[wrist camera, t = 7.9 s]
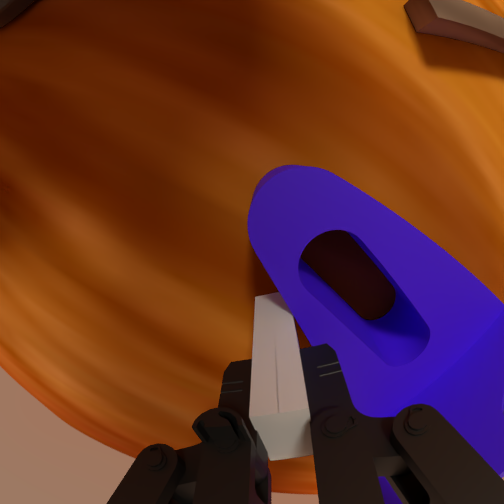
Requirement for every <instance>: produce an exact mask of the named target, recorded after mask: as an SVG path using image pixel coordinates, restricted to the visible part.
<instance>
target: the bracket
mask: <svg viewBox="0 0 504 504" xmlns="http://www.w3.org/2000/svg"><path fill="white" fill-rule="evenodd" d="M331 230H344V231H347V232H348V234H349V235H350V236H351V237H352V238H353V239H354V240H355V241H356V243H357V244H358V245H359V246H360V247H361V248H362V249H363V251H364V252H365V253H366V254H367V255H368V256H369V258H370V259H371V260H372V261H373V262H374V263H375V265H376V266H377V267H378V268H379V269H380V271H381V272H382V273H383V274H384V276H385V277H386V278H387V279H388V281H389V282H390V283H391V284H392V285H393V287H394V289H395V292H396V299H395V302H394V305H393V307H392V308H391V310H390V311H389V312H388V313H387V314H386V315H384V316H383V317H381V318H379V319H376V320H366V319H363V318H362V317H360V316H359V315H358V314H357V313H356V312H355V311H354V310H353V309H352V308H351V307H350V306H349V305H348V304H347V303H346V302H345V301H344V300H343V299H342V298H341V297H340V296H339V295H338V294H337V293H336V292H335V291H334V290H333V289H332V288H331V287H330V286H329V285H328V284H327V283H326V282H325V281H324V280H323V279H322V278H321V277H320V276H319V275H318V274H317V273H316V272H315V271H314V270H313V269H312V268H311V267H310V266H309V265H308V264H306V263H305V262H304V261H303V260H302V259H301V258H300V256H301V254H302V251H303V250H304V248H305V247H306V245H307V244H308V243H309V242H310V241H311V240H312V239H313V238H315V237H316V236H318V235H319V234H321V233H324V232H327V231H331ZM248 234H249V239H250V242H251V245H252V247H253V249H254V251H255V253H256V254H257V256H258V258H259V259H260V261H261V263H262V264H263V266H264V268H265V269H266V271H267V272H268V274H269V276H270V277H271V279H272V281H273V282H274V284H275V286H276V287H277V289H278V291H279V292H280V294H281V296H282V297H283V299H284V301H285V302H286V304H287V306H288V307H289V309H290V311H291V312H292V314H293V316H294V317H295V319H296V321H297V322H298V324H299V326H300V327H301V329H302V331H303V332H304V334H305V336H306V337H307V339H308V340H309V342H310V344H311V345H312V346H317V345H321V344H325V343H327V344H328V345H329V346H330V347H332V348H333V349H334V350H335V351H336V354H337V357H338V360H339V363H340V366H341V369H342V372H343V375H344V378H345V381H346V384H347V387H348V390H349V394H350V397H351V400H352V403H353V405H354V407H355V408H356V409H357V410H358V411H359V412H360V413H362V414H364V415H366V416H370V417H396V415H397V414H398V413H399V412H400V411H401V410H402V409H404V408H406V407H408V406H410V405H413V404H426V405H430V406H432V407H433V408H435V409H436V410H437V411H438V412H439V413H440V414H441V415H442V416H443V417H444V418H445V419H446V420H447V421H448V422H449V423H450V424H451V425H452V426H453V427H454V428H455V429H456V430H457V431H458V432H459V433H460V434H461V435H462V436H463V438H464V439H465V440H466V441H467V442H468V443H469V444H470V445H471V446H472V447H473V448H474V449H475V450H476V451H477V452H478V453H479V454H480V455H481V457H482V458H483V459H484V460H485V461H486V462H487V463H488V464H489V465H490V466H491V467H492V468H493V469H494V471H495V472H496V473H497V474H498V475H499V476H500V477H501V478H502V477H504V304H503V303H502V302H501V301H500V300H499V299H498V298H497V297H496V296H495V295H494V294H493V293H492V292H491V291H490V290H489V289H488V288H487V287H486V286H485V285H484V284H482V283H481V282H480V281H479V280H478V279H477V278H476V277H475V276H474V275H473V274H472V273H470V272H469V271H468V270H467V269H466V268H465V267H464V266H463V265H461V264H460V263H459V262H458V261H457V260H456V259H454V258H453V257H452V256H451V255H450V254H448V253H447V252H446V251H445V250H443V249H442V248H441V247H440V246H438V245H437V244H436V243H435V242H433V241H432V240H431V239H430V238H428V237H427V236H426V235H424V234H423V233H422V232H420V231H419V230H418V229H416V228H415V227H414V226H412V225H411V224H410V223H408V222H407V221H405V220H404V219H403V218H401V217H400V216H398V215H397V214H396V213H394V212H393V211H391V210H390V209H388V208H387V207H385V206H384V205H383V204H381V203H380V202H378V201H377V200H375V199H373V198H372V197H370V196H369V195H367V194H366V193H364V192H363V191H361V190H359V189H358V188H356V187H355V186H353V185H351V184H350V183H348V182H347V181H345V180H343V179H342V178H340V177H338V176H337V175H335V174H333V173H331V172H329V171H327V170H324V169H321V168H316V167H309V166H299V165H285V166H281V167H278V168H275V169H273V170H272V171H270V172H268V173H267V174H266V175H265V176H264V177H263V178H262V179H261V180H260V182H259V183H258V185H257V186H256V189H255V191H254V194H253V198H252V202H251V206H250V210H249V215H248ZM378 479H379V483H380V487H381V491H382V494H383V499H384V503H385V504H403V503H402V502H401V500H400V499H399V497H398V496H397V494H396V493H395V491H394V490H393V488H392V487H391V485H390V484H389V482H388V481H387V479H386V478H385V476H381V477H378Z"/></svg>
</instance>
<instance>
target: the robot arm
mask: <svg viewBox="0 0 504 504" xmlns="http://www.w3.org/2000/svg"><path fill="white" fill-rule="evenodd" d="M33 1H34V0H0V28H1V27H2V26H4V25H6V24H7V23H8V22H10V21H11V20H12V19H14V18H15V17H16V16H17V15H19V14H20V13H21V12H22V11H23V10H24V9H26V8H27V7H28V6H29V5H30V4H31V3H32V2H33ZM222 384H223V385H222V387H221V394H220V399H219V405H218V408H214V409H210V410H208V411H206V412H204V413H202V414H201V415H200V416H199V417H198V418H197V419H196V420H195V421H194V423H193V426H192V429H193V430H194V431H195V433H196V434H197V435H198V437H199V438H200V439H201V441H202V442H201V443H200V444H197V445H194V446H191V447H187V448H183V449H179V450H174V449H173V448H172V447H170V446H168V445H166V444H154V445H150V446H148V447H147V448H145V449H143V450H142V452H141V453H140V454H139V455H138V456H137V458H136V459H135V461H134V463H133V464H132V466H131V467H130V469H129V470H128V472H127V473H126V475H125V476H124V478H123V480H122V481H121V483H120V484H119V486H118V487H117V489H116V490H115V492H114V493H113V495H112V496H111V498H110V499H109V501H108V502H107V504H271V474H270V470H269V468H268V457H269V459H270V461H273V460H282V459H289V458H296V457H303V456H308V455H314V463H315V471H316V480H317V488H318V497H319V504H385V503H384V499H383V494H382V491H381V487H380V483H379V479H378V477H381V476H385V478H386V479H387V481H388V482H389V484H390V485H391V487H392V488H393V490H394V491H395V493H396V494H397V496H398V497H399V499H400V500H401V502H402V503H403V504H504V480H503V479H502V478H501V477H500V476H499V475H498V474H497V473H496V472H495V471H494V469H493V468H492V467H491V466H490V465H489V464H488V463H487V462H486V461H485V460H484V459H483V458H482V457H481V455H480V454H479V453H478V452H477V451H476V450H475V449H474V448H473V447H472V446H471V445H470V444H469V443H468V442H467V441H466V440H465V439H464V438H463V436H462V435H461V434H460V433H459V432H458V431H457V430H456V429H455V428H454V427H453V426H452V425H451V424H450V423H449V422H448V421H447V420H446V419H445V418H444V417H443V416H442V415H441V414H440V413H439V412H438V411H437V410H436V409H435V408H433V407H432V406H430V405H426V404H413V405H410V406H408V407H406V408H404V409H402V410H401V411H400V412H399V413H398V414H397V415H396V417H370V416H366V415H364V414H362V413H360V412H359V411H358V410H357V409H356V408H355V407H354V405H353V403H352V400H351V397H350V394H349V390H348V387H347V384H346V381H345V378H344V375H343V372H342V369H341V366H340V363H339V360H338V357H337V354H336V351H335V350H334V349H333V348H332V347H330V346H329V345H328V344H327V343H325V344H321V345H317V346H312V347H308V348H303V349H300V346H299V341H298V336H297V331H296V326H295V321H294V316H293V314H292V312H291V311H290V309H289V307H288V306H287V304H286V302H285V301H284V299H283V297H282V296H281V294H280V292H276V293H271V294H266V295H262V296H257V297H255V312H254V332H253V352H252V359H249V360H242V361H235V362H231V363H230V364H229V366H228V367H227V369H226V370H225V372H224V375H223V381H222Z"/></svg>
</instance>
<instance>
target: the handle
mask: <svg viewBox="0 0 504 504" xmlns="http://www.w3.org/2000/svg"><path fill="white" fill-rule="evenodd" d="M404 7H405V9H406V11H407V13H408V15H409V17H410V19H411V21H412V24H413V26H414V28H415V30H416V32H419V33H426V34H432V35H438V36H443V37H448V38H453V39H457V40H461V41H465V42H469V43H473V44H476V45H480V46H483V47H486V48H489V49H492V50H495V51H498V52H501V53H504V18H502V17H500V16H498V15H496V14H494V13H491V12H489V11H487V10H485V9H482V8H480V7H478V6H475V5H473V4H470V3H468V2H465V1H462V0H409V1H408V2H407V3H406V4H405V5H404Z"/></svg>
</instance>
